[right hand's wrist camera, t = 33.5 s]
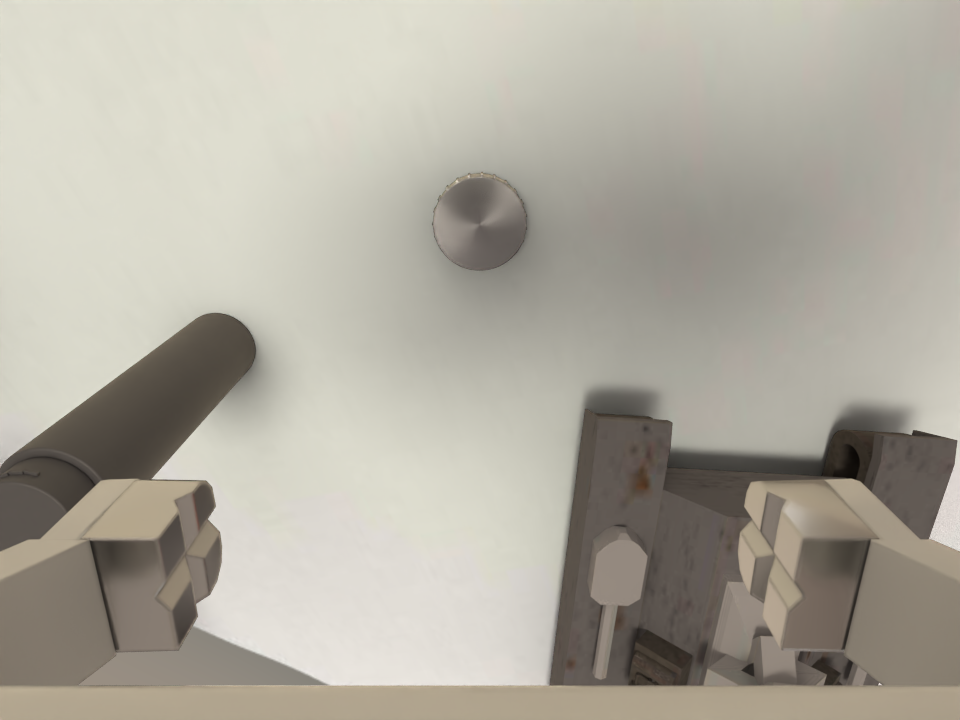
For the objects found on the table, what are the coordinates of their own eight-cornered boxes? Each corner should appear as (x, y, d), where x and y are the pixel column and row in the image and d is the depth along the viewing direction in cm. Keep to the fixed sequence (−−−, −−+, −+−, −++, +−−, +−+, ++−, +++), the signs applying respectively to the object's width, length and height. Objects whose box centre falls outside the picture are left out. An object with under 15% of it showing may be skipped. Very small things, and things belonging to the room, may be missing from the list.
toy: (583, 383, 42) (636, 523, 28) (905, 401, 42) (1118, 549, 28) (544, 698, 50) (568, 926, 36) (810, 711, 51) (936, 941, 37)
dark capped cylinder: (185, 307, 40) (-48, 464, 22) (258, 319, 40) (84, 485, 23) (183, 372, 42) (-38, 569, 24) (253, 384, 42) (86, 588, 24)
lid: (483, 281, 40) (483, 290, 38) (415, 222, 38) (411, 228, 36) (544, 215, 38) (547, 221, 36) (475, 151, 37) (475, 154, 35)
